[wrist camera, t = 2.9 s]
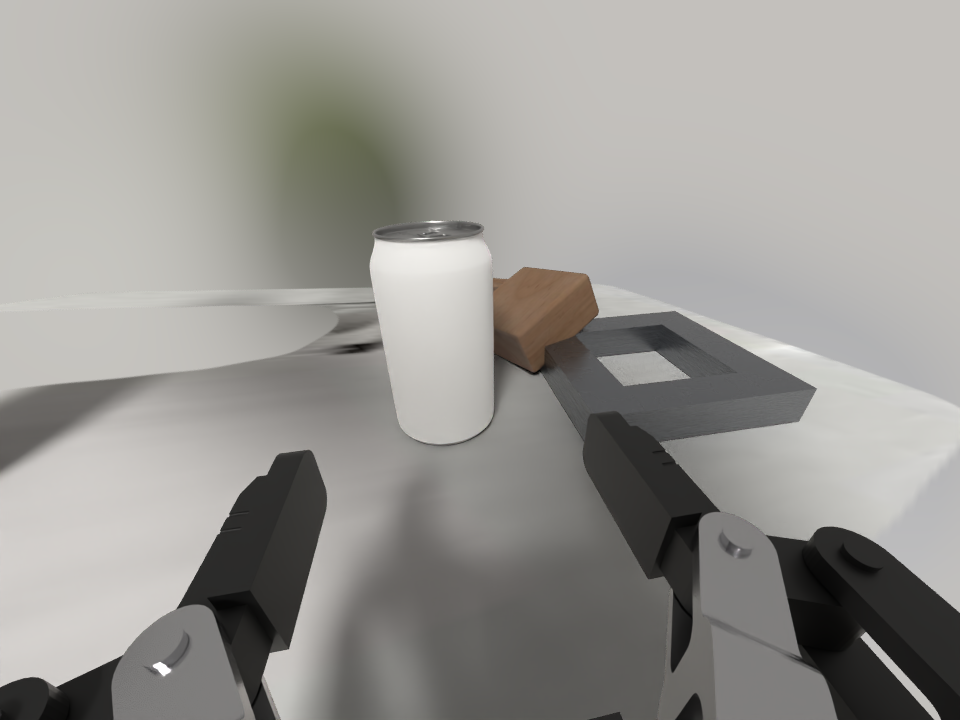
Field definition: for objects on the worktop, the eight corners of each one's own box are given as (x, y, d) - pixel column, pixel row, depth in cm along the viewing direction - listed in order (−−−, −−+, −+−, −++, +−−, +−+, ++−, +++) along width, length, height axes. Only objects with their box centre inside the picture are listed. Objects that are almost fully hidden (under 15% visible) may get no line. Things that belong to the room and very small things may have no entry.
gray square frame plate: (590, 451, 20) (596, 417, 19) (527, 350, 31) (528, 324, 30) (798, 421, 22) (816, 388, 20) (668, 335, 33) (675, 311, 32)
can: (460, 379, 27) (449, 216, 21) (514, 420, 23) (519, 227, 17) (383, 410, 24) (345, 228, 18) (427, 466, 19) (395, 246, 13)
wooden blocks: (530, 320, 46) (634, 363, 30) (433, 325, 41) (498, 380, 25) (535, 262, 43) (651, 275, 28) (433, 260, 38) (504, 275, 23)
